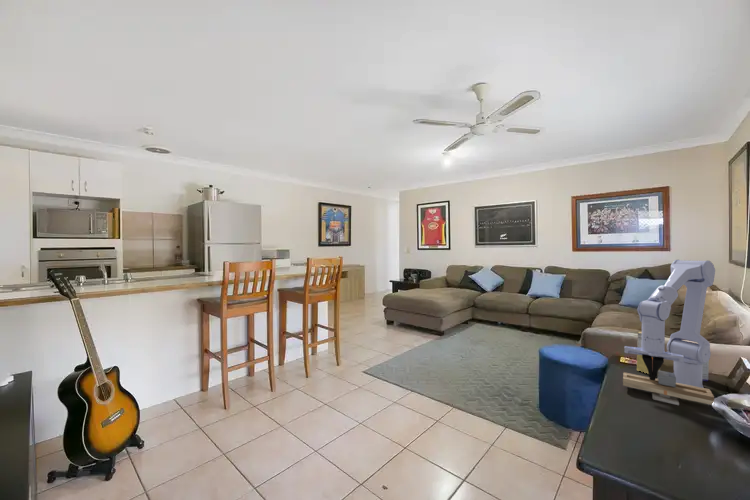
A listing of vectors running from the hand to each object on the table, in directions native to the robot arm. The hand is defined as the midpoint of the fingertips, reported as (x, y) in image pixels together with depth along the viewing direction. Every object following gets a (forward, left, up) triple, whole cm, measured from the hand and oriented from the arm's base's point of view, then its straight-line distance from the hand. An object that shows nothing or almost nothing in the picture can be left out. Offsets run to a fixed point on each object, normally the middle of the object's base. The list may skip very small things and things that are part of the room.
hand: (652, 379), depth 104 cm
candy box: (-27, 0, -5) cm, 27 cm away
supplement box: (-30, +13, -5) cm, 33 cm away
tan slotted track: (0, +3, -5) cm, 6 cm away
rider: (0, +3, -1) cm, 4 cm away
